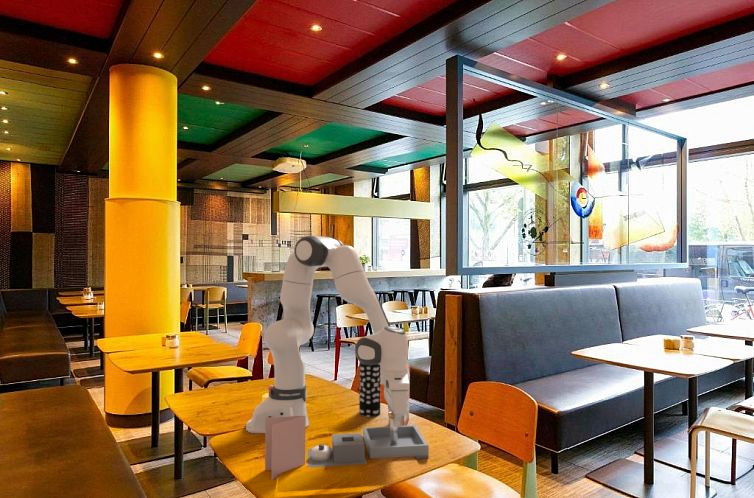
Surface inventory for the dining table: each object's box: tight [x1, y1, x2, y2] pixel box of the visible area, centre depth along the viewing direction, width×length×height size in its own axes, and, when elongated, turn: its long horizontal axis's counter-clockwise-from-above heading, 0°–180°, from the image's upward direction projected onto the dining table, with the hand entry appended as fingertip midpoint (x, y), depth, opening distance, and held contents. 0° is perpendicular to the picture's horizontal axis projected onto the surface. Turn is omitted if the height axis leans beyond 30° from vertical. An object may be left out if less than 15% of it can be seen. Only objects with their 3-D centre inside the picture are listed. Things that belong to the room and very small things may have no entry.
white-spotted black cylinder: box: [358, 362, 382, 418], centre depth 190 cm, size 8×8×20 cm
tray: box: [362, 424, 430, 460], centre depth 154 cm, size 18×18×4 cm
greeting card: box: [264, 416, 306, 480], centre depth 137 cm, size 11×7×15 cm, turn 100°
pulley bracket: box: [307, 432, 367, 468], centre depth 146 cm, size 17×13×6 cm
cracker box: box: [388, 364, 411, 426], centre depth 176 cm, size 14×6×21 cm, turn 168°
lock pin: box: [387, 412, 398, 446], centre depth 154 cm, size 4×4×10 cm
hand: (394, 421), depth 155 cm, fingers open, 8 cm apart
